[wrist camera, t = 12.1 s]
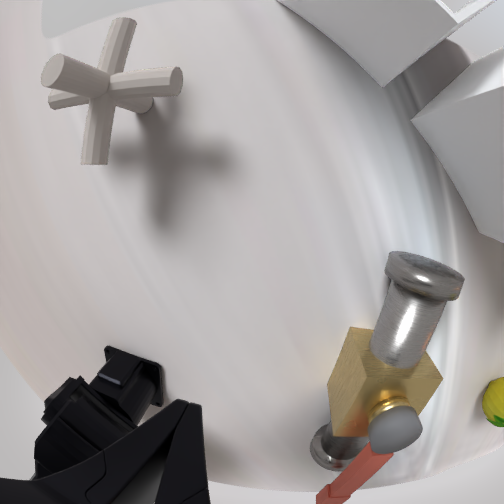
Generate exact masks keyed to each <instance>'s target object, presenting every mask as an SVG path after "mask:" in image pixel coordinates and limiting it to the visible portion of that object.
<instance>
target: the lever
mask: <svg viewBox="0 0 504 504" xmlns="http://www.w3.org/2000/svg"><path fill="white" fill-rule="evenodd" d="M422 430H423V428H422V425H421V422H420V420H419V417H418V415H417V412H416V410H415V409H414V408H413V407H411V406H398V407H394V408H391V409H388V410H386V411H384V412H382V413H381V414H379V415H378V416H377V417H375V418H374V419H373V420H372V421H371V423H370V424H369V426H368V435H369V440H370V441H369V442H368V444H367V445H366V446H365V447H364V448H363V450H362V451H361V452H360V453H359V454H358V455H357V457H356V458H355V459H354V460H353V461H352V462H351V463H350V464H349V466H348V467H347V468H346V469H345V470H344V471H343V472H342V473H341V474H340V475H339V476H338V477H337V478H336V479H335V480H334V481H333V482H332V483H331V484H327V485H326V486H325V487H324V488H323V489H322V490H321V491H320V492H319V493H318V494H317V495H316V504H342V503H344V502H345V501H346V500H348V499H349V498H350V496H351V494H352V493H353V492H354V491H356V490H357V489H358V488H359V487H360V486H362V485H363V484H364V483H365V482H366V481H367V480H368V479H369V478H370V477H372V476H373V475H374V474H375V473H376V472H377V471H378V470H379V469H380V468H381V467H382V466H383V465H384V464H385V463H386V462H387V461H388V460H389V459H390V458H391V457H392V456H393V455H394V454H393V452H396V451H399V450H402V449H404V448H406V447H407V446H409V445H411V444H412V443H413V442H414V441H416V440H417V439H418V438H419V436H420V435H421V433H422Z"/></svg>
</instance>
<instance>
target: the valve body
mask: <svg viewBox="0 0 504 504" xmlns="http://www.w3.org/2000/svg"><path fill="white" fill-rule="evenodd" d="M385 274H386V275H387V276H388V277H389V278H390V279H392V281H391V284H390V287H389V290H388V293H387V296H386V299H385V302H384V305H383V307H382V310H381V313H380V316H379V318H378V321H377V324H376V326H375V329H374V330H370V329H362V328H354V327H350V328H349V331H348V334H347V337H346V339H345V342H344V345H343V347H342V350H341V352H340V355H339V357H338V360H337V362H336V365H335V367H334V370H333V372H332V374H331V377H330V379H329V381H328V384H327V387H328V395H329V403H330V412H331V421H330V423H329V424H327V425H325V426H323V427H321V428H320V429H319V430H318V431H317V432H316V434H315V436H314V437H313V439H312V441H311V444H310V452H311V455H312V457H313V459H314V460H315V461H316V462H317V463H318V464H319V465H320V466H322V467H324V468H326V469H328V470H332V471H344V470H345V469H346V468H347V467H348V466H349V464H350V463H351V462H352V461H353V460H354V459H355V458H356V457H357V455H358V454H359V453H360V452H361V451H362V450H363V448H364V447H365V446H366V445H367V442H368V441H369V435H368V426H369V424H370V423H371V421H372V420H373V419H374V418H375V417H377V416H378V415H379V414H381V413H382V412H384V411H386V410H388V409H391V408H394V407H398V406H411V407H413V408H414V409H415V410H416V412H417V415H419V414H420V413H421V411H422V410H423V409H424V407H425V406H426V404H427V403H428V401H429V400H430V398H431V397H432V395H433V394H434V392H435V391H436V389H437V388H438V386H439V384H440V383H441V381H442V379H443V377H442V376H441V374H440V373H439V371H438V369H437V368H436V366H435V364H434V363H433V361H432V360H431V358H430V357H429V355H428V353H427V352H426V348H427V346H428V344H429V342H430V340H431V337H432V335H433V333H434V331H435V329H436V326H437V324H438V322H439V319H440V317H441V315H442V312H443V310H444V307H445V305H446V302H447V301H453V300H456V299H458V297H459V294H460V291H461V289H462V286H463V283H464V280H465V279H464V277H463V276H462V275H461V274H460V273H458V272H457V271H455V270H454V269H452V268H450V267H448V266H446V265H444V264H442V263H439V262H437V261H435V260H432V259H429V258H426V257H423V256H420V255H416V254H412V253H408V252H401V251H392V252H390V253H389V256H388V260H387V264H386V267H385Z"/></svg>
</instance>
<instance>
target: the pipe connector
mask: <svg viewBox="0 0 504 504" xmlns="http://www.w3.org/2000/svg"><path fill="white" fill-rule="evenodd" d="M136 25H137V23H136V21H135V20H133V19H131V18H124V17H123V18H117V19H115V20H113V21H112V23H111V26H110V29H109V31H108V34H107V37H106V40H105V43H104V47H103V50H102V53H101V57H100V60H99V64H98V67H97V68H95V67H92V66H90V65H87V64H85V63H83V62H80V61H78V60H75V59H73V58H70V57H68V56H65V55H62V54H56V55H55V56H53V57H52V58H51V59H50V60H49V61H48V62H47V64H46V65H45V67H44V69H43V72H42V75H41V84H42V85H43V86H44V87H48V88H52V90H51V92H50V94H49V96H48V103H49V105H50V108H52V109H54V110H56V109H61V108H66V107H71V106H77V105H83V104H89V107H88V113H87V118H86V125H85V131H84V139H83V147H82V156H81V165H107V164H108V154H109V146H110V138H111V131H112V124H113V118H114V112H115V107H116V106H118V107H121V108H124V109H127V110H130V111H133V112H136V113H139V114H142V113H145V112H147V111H148V110H149V109H150V108H151V106H152V103H153V97H167V96H178V95H179V93H180V92H181V89H182V85H183V75H182V71H181V69H180V68H179V67H165V68H153V69H144V70H135V71H128V72H123V70H124V66H125V62H126V58H127V55H128V51H129V48H130V44H131V41H132V38H133V35H134V31H135V28H136Z"/></svg>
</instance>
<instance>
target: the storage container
mask: <svg viewBox="0 0 504 504" xmlns="http://www.w3.org/2000/svg"><path fill="white" fill-rule="evenodd" d="M277 1H278V2H280V3H282V4H283V5H285V6H286V7H288V8H289V9H291V10H292V11H294V12H295V13H297V14H298V15H299V16H301V17H302V18H304V19H305V20H306V21H308V22H309V23H311V24H312V25H313V26H315V27H316V28H317V29H318V30H320V31H321V32H322V33H324V34H325V35H326V36H327V37H329V38H330V39H331V40H332V41H333V42H335V43H336V44H337V45H338V46H339V47H340V48H342V49H343V50H344V51H345V52H346V53H347V54H348V55H350V56H351V57H352V58H353V59H354V60H355V61H356V62H357V63H358V64H359V65H360V66H361V67H362V68H363V69H364V70H365V71H366V72H367V73H368V74H369V75H370V76H371V77H372V78H373V79H374V80H375V81H376V82H377V83H378V84H379V85H380V86H381V87H382V88H383V87H384V86H386V85H387V84H388V83H389V82H390V81H392V80H393V79H394V78H395V77H397V76H398V75H399V74H400V73H402V72H403V71H404V70H405V69H407V68H408V67H409V66H410V65H412V64H413V63H414V62H416V61H417V60H418V59H419V58H421V57H422V56H423V55H425V54H426V53H427V52H428V51H430V50H431V49H432V48H434V47H435V46H436V45H438V44H439V43H440V42H442V41H443V40H444V39H446V38H447V37H448V36H450V35H451V34H452V33H454V32H455V31H456V30H457V29H459V28H460V27H461V26H463V25H464V24H465V23H467V22H468V21H469V20H470V19H472V18H473V17H474V16H476V15H477V14H479V13H480V12H481V11H483V10H484V9H485V8H486V7H488V6H489V5H491V4H492V3H494V2H495V1H496V0H470V1H469V2H468V3H466V4H465V5H464V6H463V7H462V8H461V9H459V10H458V11H457V12H456V13H455V14H454V13H453V12H452V11H451V10H450V9H449V8H448V7H447V6H446V5H445V4H444V3H443V2H442V1H441V0H277ZM410 121H411V122H412V123H413V125H414V126H415V127H416V128H417V130H418V131H419V132H420V134H421V135H422V136H423V138H424V139H425V141H426V142H427V143H428V145H429V146H430V148H431V149H432V151H433V152H434V153H435V155H436V156H437V158H438V159H439V161H440V162H441V164H442V166H443V167H444V169H445V170H446V172H447V174H448V175H449V177H450V178H451V180H452V182H453V184H454V185H455V187H456V189H457V190H458V192H459V194H460V196H461V198H462V200H463V201H464V203H465V205H466V207H467V209H468V211H469V213H470V215H471V217H472V219H473V221H474V223H475V225H476V227H477V229H478V232H479V233H481V234H483V235H486V236H488V237H491V238H493V239H495V240H498V241H500V242H502V243H504V46H503V47H501V48H499V49H497V50H495V51H493V52H491V53H489V54H487V55H485V56H483V57H481V58H479V59H477V60H475V61H474V62H473V63H472V64H470V65H469V66H468V67H467V68H466V69H465V70H464V71H463V72H462V73H461V74H460V75H459V76H458V77H457V78H455V79H454V80H453V81H452V82H451V83H450V84H449V85H448V86H447V87H446V88H445V89H444V90H442V91H441V92H440V93H439V94H438V95H437V96H436V97H435V98H434V99H433V100H432V101H431V102H429V103H428V104H427V105H426V106H425V107H424V108H423V109H422V110H421V111H420V112H419V113H417V114H416V115H415V116H414V117H413V118H412V119H411V120H410Z"/></svg>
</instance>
